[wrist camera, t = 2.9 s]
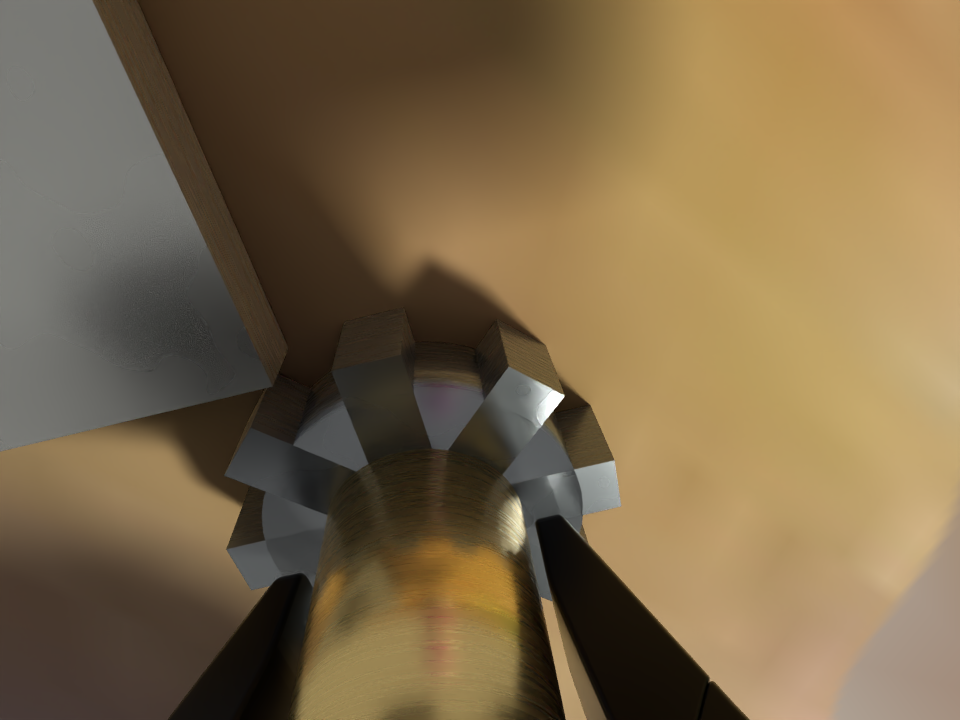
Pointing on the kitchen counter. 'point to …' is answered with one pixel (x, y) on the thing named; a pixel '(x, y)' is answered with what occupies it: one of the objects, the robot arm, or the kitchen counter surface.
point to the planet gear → (419, 520)
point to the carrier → (112, 234)
